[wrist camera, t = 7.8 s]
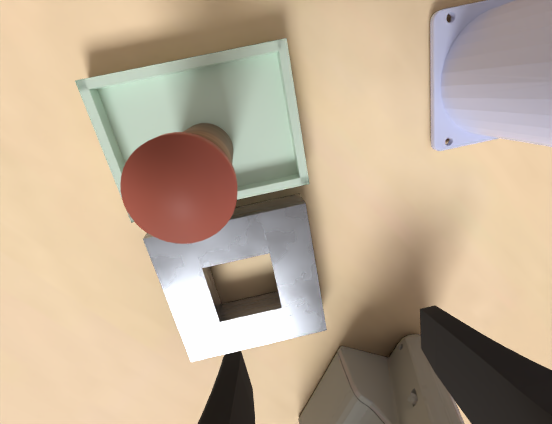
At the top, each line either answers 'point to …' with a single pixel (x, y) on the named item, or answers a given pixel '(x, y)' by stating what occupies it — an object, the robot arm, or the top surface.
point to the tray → (207, 111)
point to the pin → (181, 184)
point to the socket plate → (251, 311)
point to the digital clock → (381, 389)
